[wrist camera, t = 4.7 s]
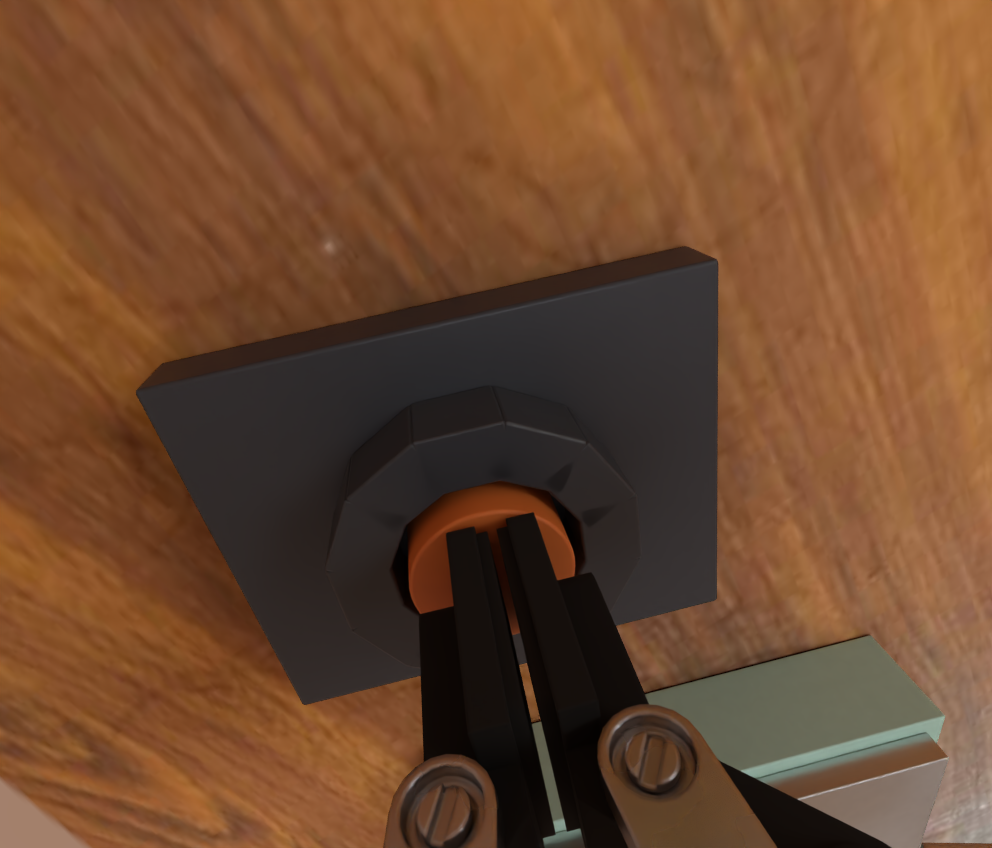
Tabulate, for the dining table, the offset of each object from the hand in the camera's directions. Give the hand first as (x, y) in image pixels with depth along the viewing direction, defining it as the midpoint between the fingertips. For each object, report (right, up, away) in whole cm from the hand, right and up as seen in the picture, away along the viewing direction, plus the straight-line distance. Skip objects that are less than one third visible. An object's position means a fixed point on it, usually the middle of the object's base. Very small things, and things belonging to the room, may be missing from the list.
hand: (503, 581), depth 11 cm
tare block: (-1, +2, +3) cm, 4 cm away
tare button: (0, +1, +2) cm, 2 cm away
